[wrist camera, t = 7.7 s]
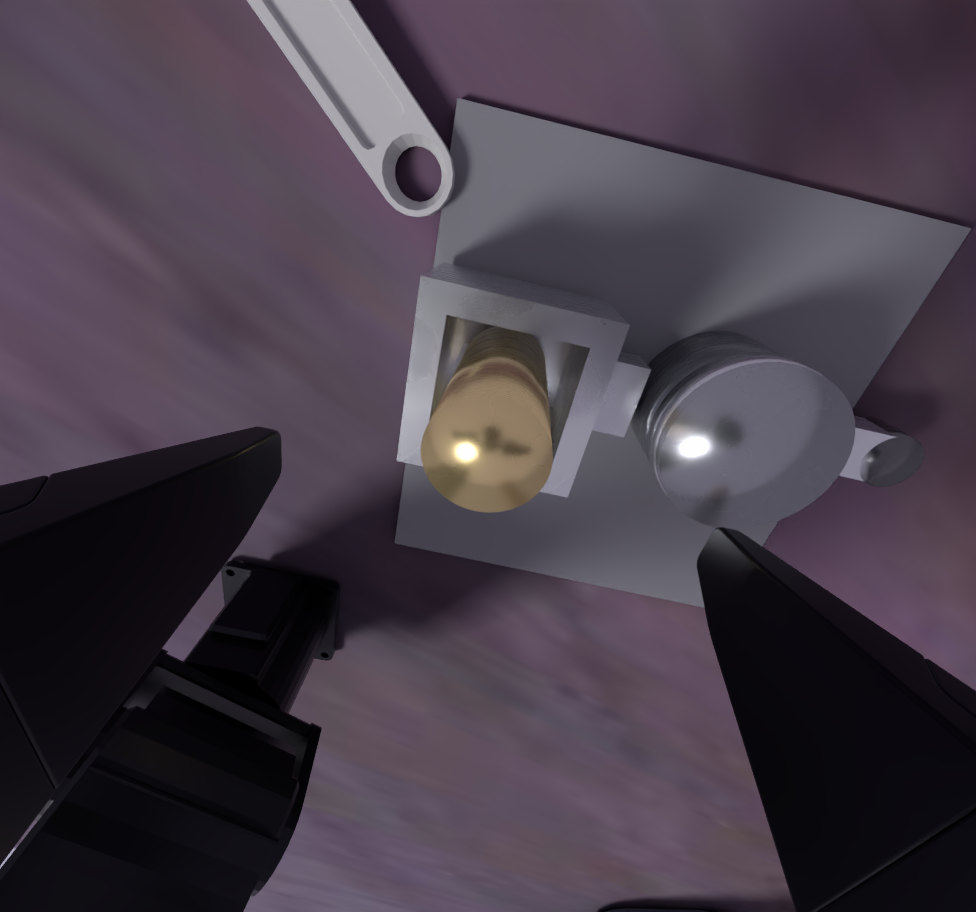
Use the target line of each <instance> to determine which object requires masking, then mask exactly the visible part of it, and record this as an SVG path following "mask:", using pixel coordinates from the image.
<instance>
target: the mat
mask: <svg viewBox="0 0 976 912" xmlns="http://www.w3.org/2000/svg"><path fill="white" fill-rule="evenodd" d="M450 155H451V157H452V159H453V164H454V170H455V182H454V189H453V191H452V194H451V196H450V199H449V200H448V202H447V203H446V204H445V205H444V207H443V208H442V211H441V218H440V225H439V232H438V239H437V246H436V253H435V260H434V267H436V266H438V265H439V264H441V263H443V262H445V263H450V264H454V265H458V266H462V267H467V268H471V269H475V270H479V271H483V272H488V273H492V274H496V275H500V276H505V277H509V278H513V279H517V280H521V281H526V282H530V283H534V284H538V285H543V286H547V287H551V288H555V289H559V290H564V291H568V292H572V293H576V294H581V295H585V296H589V297H593V298H597V299H602V300H605V301H606V302H607V303H608V304H609V305H610V306H611V307H612V308H613V309H615V310H616V311H617V312H618V313H619V314H620V315H621V316H622V317H623V318H624V319H625V320H626V321H627V322H628V323H629V324H630V327H629V329H628V332H627V335H626V338H625V340H624V343H623V346H622V349H621V352H626V353H630V354H634V355H639V356H640V357H641V358H642V359H643V360H644V361H645V363H646V364H647V365H648V364H649V363H650V362H651V361H652V360H653V359H654V358H655V357H656V356H657V355H658V354H659V353H661V352H662V351H663V350H664V349H666V348H667V347H669V346H670V345H672V344H674V343H675V342H677V341H679V340H682V339H684V338H686V337H689V336H692V335H695V334H699V333H703V332H711V331H728V332H734V333H738V334H741V335H745V336H747V337H749V338H751V339H753V340H755V341H757V342H759V343H761V344H762V345H764V346H766V347H768V348H770V349H772V350H774V351H776V352H778V353H779V354H781V355H784V356H787V357H790V358H792V359H794V360H796V361H798V362H800V363H802V364H804V365H806V366H808V367H810V368H812V369H813V370H815V371H817V372H819V373H820V374H822V375H823V376H824V377H826V378H827V379H828V380H829V381H831V382H832V383H833V384H835V385H836V386H837V387H838V388H839V389H840V390H841V391H842V392H843V394H844V395H845V397H846V398H847V400H848V401H849V403H850V406H851V408H852V409H853V408H854V406H855V405H856V403H857V402H858V400H859V399H860V397H861V396H862V394H863V392H864V391H865V389H866V388H867V386H868V385H869V383H870V382H871V380H872V379H873V377H874V376H875V374H876V373H877V371H878V370H879V368H880V367H881V365H882V364H883V362H884V361H885V359H886V358H887V356H888V355H889V353H890V352H891V350H892V349H893V347H894V345H895V344H896V342H897V341H898V339H899V338H900V336H901V335H902V333H903V332H904V330H905V329H906V327H907V326H908V324H909V323H910V321H911V320H912V318H913V317H914V315H915V314H916V312H917V311H918V309H919V308H920V306H921V305H922V303H923V302H924V300H925V298H926V297H927V295H928V294H929V292H930V291H931V289H932V288H933V286H934V285H935V283H936V282H937V280H938V279H939V277H940V276H941V274H942V273H943V271H944V270H945V268H946V267H947V265H948V264H949V262H950V261H951V259H952V258H953V256H954V255H955V253H956V251H957V250H958V248H959V247H960V245H961V244H962V242H963V241H964V239H965V238H966V236H967V235H968V233H969V232H970V230H971V229H972V228H968V227H964V226H960V225H956V224H952V223H948V222H945V221H941V220H937V219H933V218H929V217H925V216H921V215H917V214H913V213H909V212H905V211H901V210H897V209H893V208H889V207H885V206H881V205H878V204H874V203H870V202H866V201H862V200H858V199H854V198H850V197H846V196H842V195H838V194H834V193H830V192H826V191H822V190H818V189H814V188H811V187H807V186H803V185H799V184H795V183H791V182H787V181H783V180H779V179H775V178H771V177H767V176H763V175H759V174H755V173H751V172H748V171H744V170H740V169H736V168H732V167H728V166H724V165H720V164H716V163H712V162H708V161H704V160H700V159H696V158H692V157H688V156H684V155H681V154H677V153H673V152H669V151H665V150H661V149H657V148H653V147H649V146H645V145H641V144H637V143H633V142H629V141H625V140H621V139H617V138H614V137H610V136H606V135H602V134H598V133H594V132H590V131H586V130H582V129H578V128H574V127H570V126H566V125H562V124H558V123H554V122H551V121H547V120H543V119H539V118H535V117H531V116H527V115H523V114H519V113H515V112H511V111H507V110H503V109H499V108H495V107H491V106H487V105H484V104H480V103H476V102H472V101H468V100H464V99H460V98H457V105H456V112H455V119H454V126H453V133H452V140H451V147H450ZM434 267H433V268H434ZM777 523H778V521H776V522H773V523H770V524H766V525H762V526H758V527H751V528H740V529H734V530H738V531H740V532H742V533H743V534H745V535H746V536H748V537H749V538H750V539H752V540H753V541H755V542H756V543H758V544H759V545H761V546H763V544H764V543H765V541H766V540H767V538H768V537H769V535H770V533H771V532H772V530H773V529H774V527H775V526H776V524H777ZM716 528H718V527H713V526H709V525H706V524H702V523H700V522H698V521H695V520H693V519H691V518H690V517H688V516H686V515H685V514H684V513H682V512H681V511H680V510H679V509H677V507H676V506H675V505H674V504H673V503H672V502H671V500H670V499H669V498H668V496H667V495H666V494H665V492H664V491H663V489H662V488H661V486H660V484H659V482H658V480H657V478H656V476H655V475H654V473H653V470H652V468H651V466H650V462H649V460H648V458H647V456H646V454H645V453H644V451H643V449H642V447H641V445H640V443H639V441H638V439H637V437H636V435H635V433H634V431H633V428H632V425H631V421H630V424H629V426H628V429H627V431H626V434H625V436H624V437H620V436H615V435H611V434H606V433H602V432H597V431H593V430H592V432H591V434H590V437H589V440H588V443H587V445H586V448H585V451H584V454H583V457H582V459H581V462H580V465H579V468H578V470H577V473H576V476H575V479H574V481H573V484H572V487H571V490H570V493H569V495H568V498H567V497H562V496H558V495H553V494H549V493H544V492H539V493H538V494H537V495H536V496H534V497H533V498H532V499H531V500H529V501H528V502H526V503H525V504H523V505H521V506H519V507H516V508H514V509H511V510H507V511H502V512H491V513H489V512H478V511H473V510H469V509H466V508H463V507H461V506H458V505H456V504H455V503H453V502H451V501H449V500H448V499H447V498H445V497H444V496H443V495H442V494H440V493H439V492H438V491H437V490H436V489H435V487H434V486H433V485H432V483H431V482H430V481H429V479H428V477H427V475H426V473H425V471H424V468H423V466H419V465H414V464H409V463H406V464H405V471H404V478H403V485H402V493H401V500H400V507H399V514H398V521H397V528H396V535H395V542H394V543H395V544H400V545H404V546H409V547H414V548H419V549H424V550H429V551H433V552H438V553H443V554H448V555H453V556H458V557H462V558H467V559H472V560H477V561H482V562H486V563H491V564H496V565H501V566H506V567H511V568H515V569H520V570H525V571H530V572H535V573H540V574H544V575H549V576H554V577H559V578H564V579H569V580H573V581H578V582H583V583H588V584H593V585H597V586H602V587H607V588H612V589H617V590H622V591H626V592H631V593H636V594H641V595H646V596H651V597H655V598H660V599H665V600H670V601H675V602H680V603H684V604H689V605H694V606H699V607H704V602H703V597H702V592H701V587H700V582H699V577H698V571H697V559H698V556H699V554H700V552H701V551H702V549H703V547H704V545H705V544H706V542H707V540H708V538H709V537H710V535H711V533H712V532H713V530H715V529H716ZM704 608H705V607H704Z"/></svg>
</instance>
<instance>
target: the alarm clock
mask: <svg viewBox="0 0 976 912" xmlns="http://www.w3.org/2000/svg"><path fill="white" fill-rule="evenodd" d="M606 912H709V911H701V910H676V909H613V910H609V911H606Z"/></svg>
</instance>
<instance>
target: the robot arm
mask: <svg viewBox="0 0 976 912" xmlns="http://www.w3.org/2000/svg"><path fill="white" fill-rule="evenodd" d="M281 468H282V457H281V436H280V433H279V432H278V431H276V430H273V429H268V428H263V427H253V428H248V429H244V430H240V431H236V432H231V433H227V434H223V435H218V436H214V437H210V438H205V439H201V440H197V441H192V442H188V443H184V444H179V445H175V446H171V447H166V448H162V449H158V450H153V451H149V452H145V453H140V454H136V455H132V456H127V457H123V458H119V459H114V460H110V461H106V462H101V463H97V464H93V465H88V466H84V467H80V468H75V469H71V470H67V471H62V472H58V473H54V474H51V475H50V476H49V477H47V476H40V477H36V478H32V479H27V480H23V481H19V482H14V483H10V484H5V485H1V486H0V865H1V864H2V862H3V861H4V860H5V858H6V857H7V856H8V854H9V853H10V852H11V850H12V849H13V848H14V846H15V845H16V844H17V842H18V841H19V840H20V838H21V837H22V836H23V834H24V833H25V832H26V830H27V829H28V828H29V826H30V825H31V824H32V822H33V821H34V820H38V822H37V823H36V824H35V825H34V827H33V828H32V829H31V831H30V832H29V833H28V834H27V836H26V837H25V838H24V839H23V841H22V842H21V843H20V844H19V846H18V847H17V848H16V850H15V851H14V852H13V853H12V855H11V856H10V857H9V858H8V860H7V861H6V862H5V864H4V865H3V866H2V867H1V869H0V912H243V911H244V909H245V907H246V904H247V902H248V900H249V898H250V897H253V896H255V895H256V894H257V893H258V892H259V891H260V890H261V889H262V888H263V886H264V885H265V884H266V883H267V881H268V880H269V878H270V877H271V875H272V874H273V872H274V871H275V869H276V867H277V865H278V864H279V862H280V860H281V858H282V856H283V854H284V852H285V850H286V848H287V846H288V844H289V842H290V840H291V837H292V835H293V833H294V830H295V828H296V825H297V822H298V820H299V817H300V813H301V810H302V806H303V802H304V798H305V794H306V790H307V786H308V782H309V778H310V774H311V770H312V766H313V762H314V757H315V753H316V749H317V745H318V741H319V737H320V733H321V727H319V726H317V725H315V724H313V723H311V724H308V723H306V722H304V721H302V720H300V719H298V718H296V717H294V716H292V715H290V714H289V712H290V709H291V707H292V705H293V703H294V701H295V699H296V697H297V694H298V692H299V690H300V688H301V686H302V684H303V681H304V679H305V677H306V675H307V673H308V671H309V669H310V666H311V664H312V662H313V660H314V658H315V659H320V660H331V659H332V657H333V655H334V652H335V644H336V630H337V615H338V601H339V586H338V585H337V584H336V583H335V582H332V581H329V580H324V579H319V578H314V577H309V576H304V575H299V574H294V573H289V572H284V571H279V570H274V569H269V568H264V567H259V566H254V565H249V564H245V563H240V562H235V561H229V562H227V561H228V559H229V558H230V557H231V555H232V554H233V552H234V551H235V550H236V548H237V547H238V546H239V544H240V543H241V541H242V540H243V539H244V537H245V536H246V534H247V532H248V531H249V529H250V527H251V526H252V524H253V522H254V520H255V519H256V517H257V515H258V513H259V512H260V510H261V508H262V507H263V505H264V503H265V501H266V500H267V498H268V496H269V494H270V493H271V491H272V489H273V487H274V486H275V484H276V482H277V480H278V479H279V476H280V473H281ZM226 562H227V563H226ZM225 563H226V564H225ZM223 566H224V567H223ZM222 567H223V568H222ZM221 569H222V570H221ZM220 570H221V573H222V583H223V592H224V602H225V606H224V608H223V609H222V610H221V612H220V613H219V614H218V616H217V617H216V618H215V620H214V621H213V622H212V623H211V625H210V627H209V628H208V629H207V631H206V632H205V633H204V635H203V636H202V637H201V639H200V640H199V641H198V643H197V644H196V645H195V647H194V648H193V649H192V651H191V652H190V653H189V655H188V656H187V657H186V659H185V660H184V661H181V660H179V659H177V658H175V657H173V656H171V655H169V654H167V652H168V651H166V650H164V649H162V648H163V646H164V645H165V644H166V642H167V641H168V640H169V638H170V637H171V636H172V634H173V633H174V631H175V630H176V629H177V627H178V626H179V625H180V623H181V622H182V621H183V619H184V618H185V617H186V615H187V614H188V613H189V611H190V610H191V609H192V607H193V606H194V605H195V603H196V602H197V601H198V599H199V598H200V597H201V595H202V594H203V593H204V591H205V590H206V589H207V587H208V586H209V585H210V583H211V582H212V581H213V579H214V578H215V577H216V575H217V574H218V573H219V571H220ZM697 571H698V577H699V582H700V587H701V592H702V597H703V602H704V607H705V612H706V618H707V623H708V627H709V631H710V635H711V639H712V642H713V646H714V649H715V652H716V656H717V659H718V662H719V665H720V669H721V672H722V675H723V678H724V681H725V685H726V688H727V691H728V694H729V698H730V701H731V704H732V707H733V711H734V714H735V717H736V720H737V723H738V727H739V730H740V733H741V736H742V740H743V743H744V746H745V749H746V752H747V756H748V759H749V762H750V765H751V769H752V772H753V775H754V778H755V782H756V785H757V788H758V791H759V794H760V798H761V801H762V804H763V807H764V811H765V814H766V817H767V820H768V823H769V827H770V830H771V833H772V836H773V840H774V843H775V846H776V849H777V853H778V856H779V859H780V862H781V865H782V869H783V872H784V875H785V878H786V882H787V885H788V888H789V891H790V894H791V898H792V901H793V904H794V907H795V911H796V912H976V691H975V690H974V689H972V688H971V687H969V686H968V685H966V684H965V683H963V682H962V681H960V680H959V679H957V678H956V677H954V676H953V675H951V674H950V673H948V672H947V671H945V670H944V669H942V668H941V667H939V666H938V665H936V664H935V663H933V662H932V661H930V660H929V659H924V657H923V655H921V654H920V653H918V652H917V651H916V650H914V649H913V648H911V647H910V646H908V645H907V644H905V643H904V642H902V641H901V640H899V639H898V638H896V637H895V636H893V635H892V634H890V633H889V632H888V631H886V630H885V629H883V628H882V627H880V626H879V625H877V624H876V623H874V622H873V621H871V620H870V619H868V618H867V617H865V616H864V615H862V614H861V613H860V612H858V611H857V610H855V609H854V608H852V607H851V606H849V605H848V604H846V603H845V602H843V601H842V600H840V599H839V598H837V597H836V596H834V595H833V594H832V593H830V592H829V591H827V590H826V589H824V588H823V587H821V586H820V585H818V584H817V583H815V582H814V581H812V580H811V579H809V578H808V577H806V576H805V575H804V574H802V573H801V572H799V571H798V570H796V569H795V568H793V567H792V566H790V565H789V564H787V563H786V562H784V561H783V560H781V559H780V558H778V557H777V556H776V555H774V554H773V553H771V552H770V551H768V550H767V549H765V548H764V547H762V546H761V545H759V544H758V543H756V542H755V541H753V540H752V539H750V538H749V537H748V536H746V535H745V534H743V533H742V532H740V531H738V530H734V529H730V528H725V527H718V528H716V529H715V530H713V532H712V533H711V535H710V537H709V538H708V540H707V542H706V544H705V545H704V547H703V549H702V551H701V552H700V554H699V556H698V559H697ZM328 589H329V590H328ZM330 590H331V591H330Z"/></svg>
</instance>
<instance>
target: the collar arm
mask: <svg viewBox="0 0 976 912" xmlns="http://www.w3.org/2000/svg"><path fill="white" fill-rule="evenodd" d="M493 326H497V327H502V328H506V329H510V330H515V331H519V332H523V333H528V334H531V335H532V336H533V337H534V338H535V339H536V340H537V342H538V343H539V344H540V346H541V348H542V350H543V353H544V356H545V363H546V375H547V388H548V400H549V413H550V425H551V438H552V450H553V463H552V468H551V472H550V475H549V477H548V480H547V481H546V483H545V485H544V486H543V488H542V489H541V490H540V492H544V493H549V494H553V495H558V496H562V497H567V498H568V495H569V493H570V490H571V487H572V484H573V481H574V479H575V476H576V473H577V470H578V468H579V465H580V462H581V459H582V457H583V454H584V451H585V448H586V445H587V443H588V440H589V437H590V434H591V432H592V430H593V431H597V432H602V433H606V434H611V435H615V436H620V437H624V436H625V434H626V431H627V429H628V426H629V424H630V421H631V419H632V416H633V414H634V411H635V409H636V407H637V404H638V402H639V399H640V397H641V394H642V392H643V389H644V387H645V384H646V382H647V379H648V377H649V374H650V372H651V368H650V367H649V366H648V365H647V364H646V363H645V361H644V360H643V359H642V358H641V357H640V356H639V355H634V354H630V353H626V352H621V349H622V346H623V343H624V340H625V338H626V335H627V332H628V329H629V327H630V324H629V323H628V322H627V321H626V320H625V319H624V318H623V317H622V316H621V315H620V314H619V313H618V312H617V311H616V310H615V309H613V308H612V307H611V306H610V305H609V304H608V303H607V302H606V301H605V300H602V299H597V298H593V297H589V296H585V295H581V294H576V293H572V292H568V291H564V290H559V289H555V288H551V287H547V286H543V285H538V284H534V283H530V282H526V281H521V280H517V279H513V278H509V277H505V276H500V275H496V274H492V273H488V272H483V271H479V270H475V269H471V268H467V267H462V266H458V265H454V264H450V263H445V262H443V263H441V264H439V265H438V266H436V267H434V268H433V269H431V270H429V271H428V272H426V273H424V274H423V275H421V277H420V285H419V293H418V300H417V308H416V316H415V323H414V331H413V339H412V346H411V354H410V362H409V369H408V377H407V385H406V392H405V400H404V408H403V416H402V423H401V431H400V439H399V446H398V454H397V461H400V462H405V463H409V464H414V465H419V466H423V465H422V460H421V442H422V437H423V434H424V431H425V429H426V427H427V425H428V423H429V421H430V419H431V417H432V415H433V413H434V411H435V409H436V407H437V406H438V404H439V402H440V400H441V398H442V396H443V394H444V392H445V390H446V388H447V386H448V384H449V382H450V380H451V378H452V376H453V374H454V373H455V371H456V369H457V367H458V365H459V363H460V361H461V359H462V357H463V355H464V353H465V351H466V349H467V347H468V346H469V344H470V342H471V341H472V340H473V338H474V337H475V336H476V335H478V334H479V333H480V332H482V331H483V330H485V329H487V328H490V327H493ZM854 419H855V439H854V444H853V448H852V451H851V454H850V457H849V459H848V461H847V463H846V465H845V467H844V468H843V470H842V472H841V473H840V475H839V476H842V477H847V478H851V479H856V480H860V481H865V482H866V483H867V484H870V485H872V486H877V487H884V486H890V485H894V484H897V483H899V482H902V481H904V480H905V479H907V478H908V477H910V476H911V475H912V474H913V473H915V472H916V470H917V469H918V468H919V467H920V465H921V463H922V461H923V459H924V448H923V446H922V444H921V443H920V442H919V441H917V440H916V439H914V438H912V437H911V436H909V435H907V434H905V433H903V432H902V431H900V430H898V429H896V428H895V427H893V426H891V425H889V424H888V423H886V422H884V421H882V420H880V419H877V418H862V417H858V416H854Z"/></svg>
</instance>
